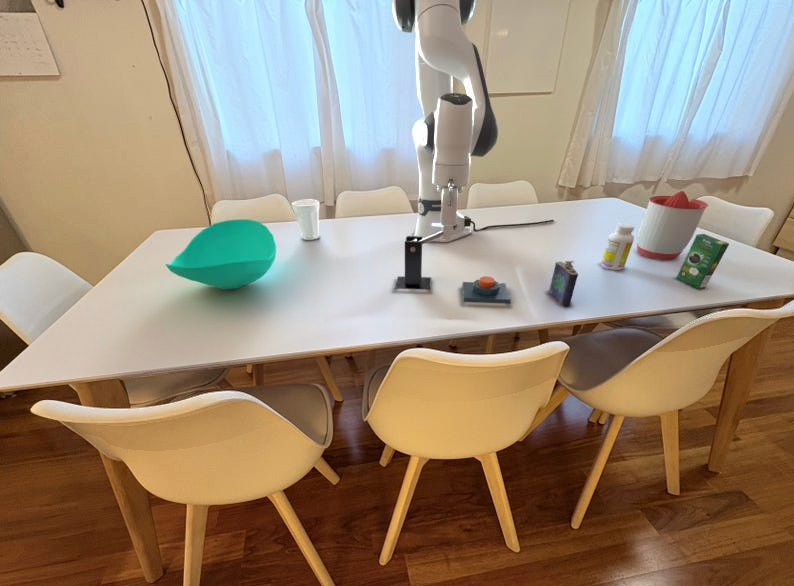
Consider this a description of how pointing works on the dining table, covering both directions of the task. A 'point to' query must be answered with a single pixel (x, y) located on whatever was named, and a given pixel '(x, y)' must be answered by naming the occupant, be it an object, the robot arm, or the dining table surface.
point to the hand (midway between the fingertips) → (446, 233)
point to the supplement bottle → (618, 247)
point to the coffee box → (702, 260)
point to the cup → (307, 217)
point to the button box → (485, 293)
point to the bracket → (413, 266)
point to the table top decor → (227, 254)
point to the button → (486, 282)
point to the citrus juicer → (669, 225)
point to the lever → (431, 237)
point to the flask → (563, 282)
